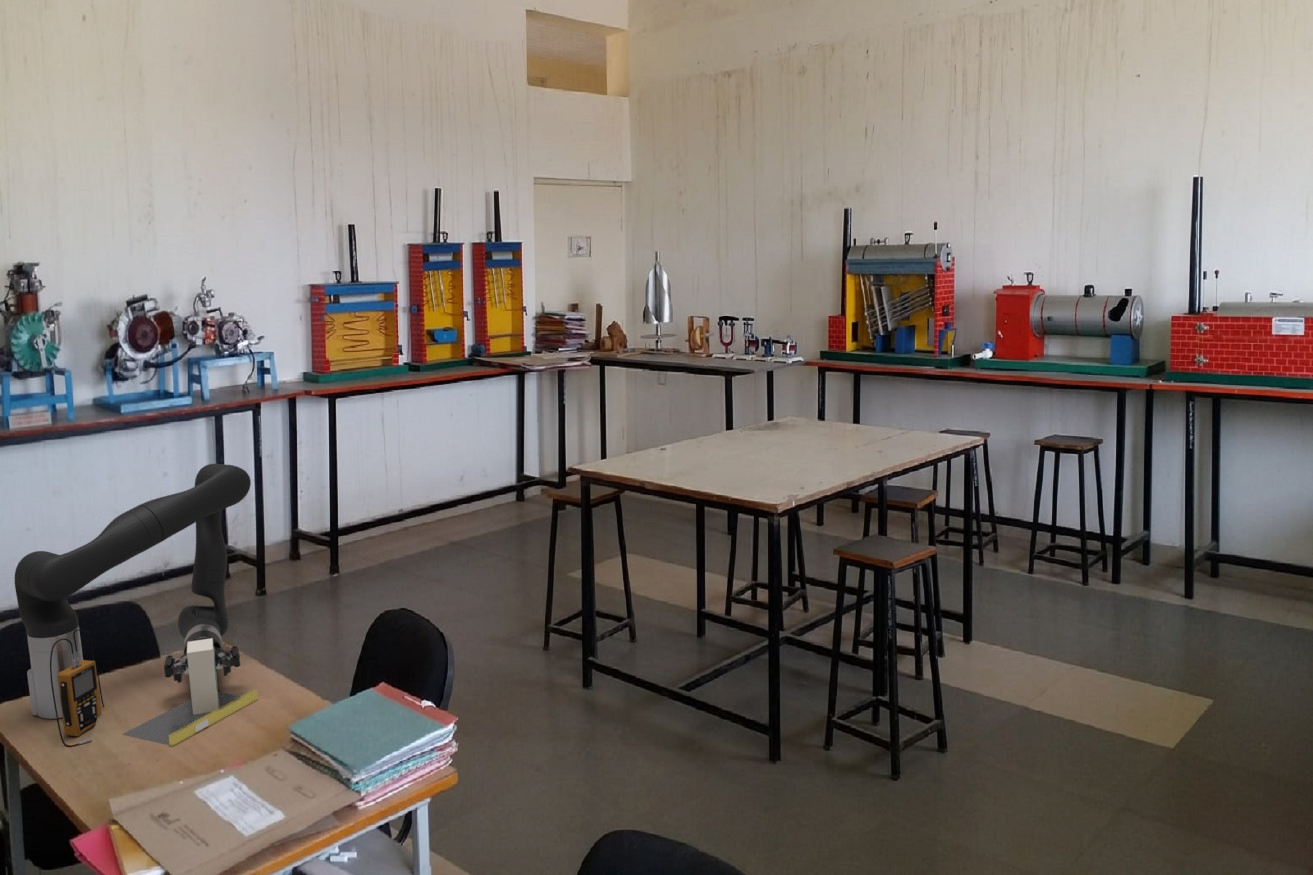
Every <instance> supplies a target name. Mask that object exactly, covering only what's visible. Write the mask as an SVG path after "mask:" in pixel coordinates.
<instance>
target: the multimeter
mask: <svg viewBox="0 0 1313 875" xmlns="http://www.w3.org/2000/svg"><path fill="white" fill-rule="evenodd" d="M76 631H83V632H85V633H86V634H87V635H88V637H89V640H90V651H91V657H92V660H86V659H83V660H82V661H79V658H78V651H77V645H76V639H75V632H76ZM73 637H74V642H75V649H76V662H75V659H74V653H73V647H72V643H71V642H70V641H69V640H68V639H60V640H67V641H68V642H69V643H70V644H71V649H72V666H71V667H69V668H67V669H65V670H63V671H61V672H60V673H59V674H58V675H57V677H58V685H59V693H60V701H61V708H62V716H63V717H62V721H63V722H62V723H63V728H64V735H66V736H70V737H71V736H72V737H80V736H82V734H83V733H85V732H86V731H88V730H89V729H91V728H92V727H94V726H96V725H97V721H98V718H99V717H100V716H102V709H101V708H102V707H104V708H105V704H104V701H103V695H102V688H101V687H102V686H101V682H100V680H101V679H100V676H99V675H100V674H99V672H98V670H97V666H96V665H97V664H96V661H95V656H94V650H93V640H92V637H91V634H90V633H89V631H87V629H83V628H82V629H81V628H79V629H78V630H75V631H74V633H73ZM60 640H58V641H56V642H55V643H54V645H53V647H52V650H51V655H50V676H51V686H52V693H53V699H54V706H55V712H56V717H57V718H56V721H57V728H58V731H59V736H60V740H61V743H62V744H63V745H64V746H65V747H68V748H70V747H71V748H72V747H76V746H79V745H83V744H84V745H85V744H87V743H90V742H92V741H93V738H89V739H86V740H83V741H80V742H79V743H75V744H72V745H71V744H70V745H69V744H67V743H65V740H64V739H63V738H64V737H63V734H62V730H61V727H60V721H59V718H58V714H57V708H56V702H55V696H54V689H53V681H52V652H53V648H54V646H55V644H56V643H57V642H59V641H60ZM100 699H101V700H100ZM101 705H102V707H101Z"/></svg>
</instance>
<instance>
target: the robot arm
mask: <svg viewBox="0 0 1313 875" xmlns="http://www.w3.org/2000/svg"><path fill="white" fill-rule="evenodd" d="M251 483H252V482H251V477H250V475H249V473H248V472H247V471H246V470H245V469H243V468H241V467H239V466H236V465H232V464H224V463H209V464H206V465H204V466H203V467H202V468H200V470H199V471H198V472H197V474H196V477H195V481H194V486H193V487H191V488H189V489H186V490H184V491H180V492H176V493H172V494H169V495H165V496H161V497H157V498H155V499H151V500H148V501H146V502H143V503H140V504H139V505H136V506H135V507H133V508H130V509H129V510H127V511H124V512H123V513H121V514H119V515H118V516H116V517H114V518H113V519H112V520H111V521H110V522H109V524H107V525H106V527H104V529H103V530H102V531H101V533H99V534H98V535H97V536H96V537H95V538H94V539H92V540H91V541H89V542H87V543H85V544H84V545H81V546H79V547H77V548H74V549H73V550H70V551H68V552H66V553H63V554H58V553H54V552H51V551H50V552H49V551H46V550H37V551H33V552H30V553H28V554H26V555H25V556H23V557H22V558H21V559H20V560H19V562H18V563H17V566H16V568H15V572H14V587H15V588H14V590H15V595H16V600H17V601H16V602H17V607H18V612H19V616H20V619H21V621H22V623H23V625H24V626H25V630H26V631H25V632H26V636H27V637H26V638H27V644H28V652H29V659H30V667H31V668H30V669H28V670H27V671H26V672H27V674H26V675H27V684H28V691H29V698H30V704H31V705H30V707H31V713H32V716H37V717H39V718H41V719H45V720H46V719H48V720H49V719H51V720H52V719H53V720H54V719H57V717H56V712H55V706H54V699H53V693H52V686H51V676H50V655H51V650H52V647H53V645H54V643H55V642H56V641H58V640H60V639H68V640H69V641H70V642H71V643H72V647H73V653H74V659H75V662H76V649H75V642H74V637H73V633H74V631H75V630H78V629H80V626H79V617H78V614H77V612H76V611H75V609H73V607H72V606H71V605H70V603H69V600H68V599H67V598H69V597H70V596H72V595H73V594H75V593H77V592H79V590H81V589H82V588H84V587H86V586H87V585H89V583H91V582H93V581H94V580H95V579H97V578H99V577H100V576H101V575H103V574H105V573H106V572H108V571H110V570H111V569H113V568H115V567H118V566H119V565H121V564H123V563H125V562H126V561H129V560H130V559H132V558H134V557H136V556H137V555H139V554H142V553H144V552H146V551H147V550H149V549H151V548H153V547H155V546H157V545H158V544H160V543H162V542H164V541H166V540H167V539H169V538H170V537H172V536H174V535H176V534H178V533H180V532H181V531H183V530H185V529H187V528H188V527H190V526H192V525H193V524H195V550H194V551H195V552H194V553H195V554H194V561H193V562H194V563H193V570H192V579H191V585H190V587H191V588H190V589H191V592H192V594H194V595H197V596H201V597H204V598H208V599H210V600H211V601H212V602H213V605H212V606H211V605H208V606H207V605H188V606H186V607H184V608H183V609H181V611H180V612H179V615H178V618H177V626H178V630H179V633H180V635H181V638H183V639H184V644H183V654H182V655H181V656H180V657H177V658H176V657H174V656H173V655H166V657H165V661H164V664H163V671H164V677H165V678H172V676H173V681H174V682H177V684H180V683H182V680H183V676H184V675H189V669H188V659H187V643H188V642H190V641H197V640H204V639H211V638H213V648H214V654H215V664H216V670H219V671H220V670H223V676H224V677H225V676H229V675H228V674H231V672H232V667H235V668H238V667H240V666H241V660H240V651H239V648H238V646H237V645H233V646H231V648H229V650H224V649H223V641H222V640H223V639H222V636H224V635H225V633H226V632H227V631H228V628H229V615H228V610H227V604H226V597H225V588H226V577H227V568H228V554H227V553H228V552H227V547H226V544H225V539H224V534H223V526H222V512H223V510H225V509H227V508H230V507H232V506H235V505H237V504H239V503H240V502H242V500H244V499H245V497H247V495H248V493H249V492H250V488H251V485H252V484H251ZM80 632H81V630H79V631H76V632H75V639H76V645H77V651H78V658H79V661H82V660H84V656H83V650H82V649H83V648H82V640H81V634H80ZM71 666H72V649H71V644H70V643H69V642H68V641H67V640H60V641H59V642H57V643H56V644H55V646H54V648H53V652H52V681H53V689H54V696H55V702H56V708H57V714H58V719H60V718H61V719H63V716H62V708H61V701H60V693H59V685H58V677H57V675H58V674H59V673H60V672H61V671H63V670H65V669H67V668H69V667H71Z"/></svg>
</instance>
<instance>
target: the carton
mask: <svg viewBox="0 0 1313 875" xmlns="http://www.w3.org/2000/svg"><path fill="white" fill-rule="evenodd" d="M187 659H188V669H189V674H188V676H189V678H188V679H189V688H190V696H191V698H190V699H192V709H193V715H194V714H200V713H206V712H212V711H215V710H217V709H218V691H219V690H218V677H217V669H216V664H215V654H214V648H213V638H211V639H204V640H197V641H190V642H188V643H187Z"/></svg>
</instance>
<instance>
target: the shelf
mask: <svg viewBox="0 0 1313 875" xmlns="http://www.w3.org/2000/svg"><path fill="white" fill-rule="evenodd" d="M258 696H259V695H258V689H252V690H251V691H248V692H246V693H245V694H243V695H239V694H235V693H229V692H225V691H224V692H223V691H221V690H218V709H217V710H215V711H212V712H206V713H200V714H194V715H193V709H192V699H191V698H190V699H189V700H187V701H185V702H182V703H181V704H179V705H176V706H175V707H173V708H171V709H169V710H167V711H165V712H162V713H161V714H159V715H157V716H155V717H152V718H151V719H150V720H147V721H145V722H144V723H141V724H140V725H137V726H136V727H133V728H131V729H130V730H128V731H126V732H124V733H122V736H127V737H131V738H135V739H140V740H145V741H148V742H153V743H158V744H162V745H165V746H166V745H167V746H171V747H175V746H176V745H178V744H179V743H182V742H183V741H185V740H187V739H188V738H191V737H192V736H194V735H196V734H197V733H199V732H202V731H203V730H205V729H206V728H208V727H210V726H212V725H215V724H216V723H218V722H219V721H222V720H223V719H226V717H227V718H228V716H230V715H232V714H234V713H235V712H238V711H239V710H241V709H243V708H245V707H246V706H248V705H250V704H253V702H256V701H257V700H259V697H258Z"/></svg>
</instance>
